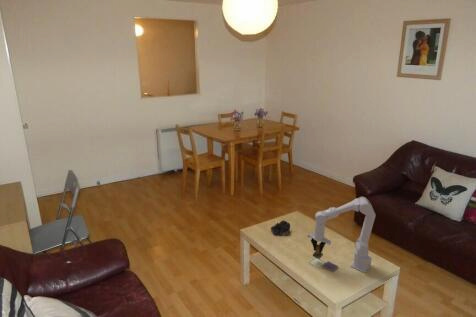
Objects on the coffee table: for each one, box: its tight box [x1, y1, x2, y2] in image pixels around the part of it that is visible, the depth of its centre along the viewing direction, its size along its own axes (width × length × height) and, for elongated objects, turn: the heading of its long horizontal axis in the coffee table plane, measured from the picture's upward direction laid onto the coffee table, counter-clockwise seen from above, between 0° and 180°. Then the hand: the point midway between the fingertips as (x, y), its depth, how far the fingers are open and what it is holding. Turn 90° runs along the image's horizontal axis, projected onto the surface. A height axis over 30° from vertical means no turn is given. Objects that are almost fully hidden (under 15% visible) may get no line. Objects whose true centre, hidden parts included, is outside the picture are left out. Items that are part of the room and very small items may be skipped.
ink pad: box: [322, 260, 339, 273], centre depth 205 cm, size 7×6×1 cm
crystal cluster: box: [270, 219, 291, 237], centre depth 244 cm, size 13×14×10 cm
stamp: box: [312, 243, 324, 259], centre depth 207 cm, size 4×4×7 cm
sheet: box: [306, 257, 328, 270], centre depth 210 cm, size 9×9×1 cm
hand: (318, 250), depth 207 cm, fingers closed on stamp, 3 cm apart
